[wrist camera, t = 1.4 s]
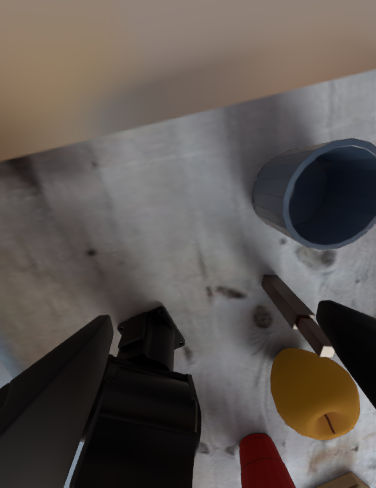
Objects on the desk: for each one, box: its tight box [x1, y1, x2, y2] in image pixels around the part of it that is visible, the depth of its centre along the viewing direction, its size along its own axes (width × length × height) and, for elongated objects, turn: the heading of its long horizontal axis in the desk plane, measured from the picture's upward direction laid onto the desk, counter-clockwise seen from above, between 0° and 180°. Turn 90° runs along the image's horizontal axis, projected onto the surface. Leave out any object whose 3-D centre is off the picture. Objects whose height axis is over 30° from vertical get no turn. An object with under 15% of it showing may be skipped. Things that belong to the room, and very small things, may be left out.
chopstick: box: [262, 275, 335, 357], centre depth 19 cm, size 2×2×10 cm
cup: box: [252, 138, 376, 250], centre depth 17 cm, size 8×8×6 cm
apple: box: [270, 348, 360, 440], centre depth 23 cm, size 9×9×9 cm
